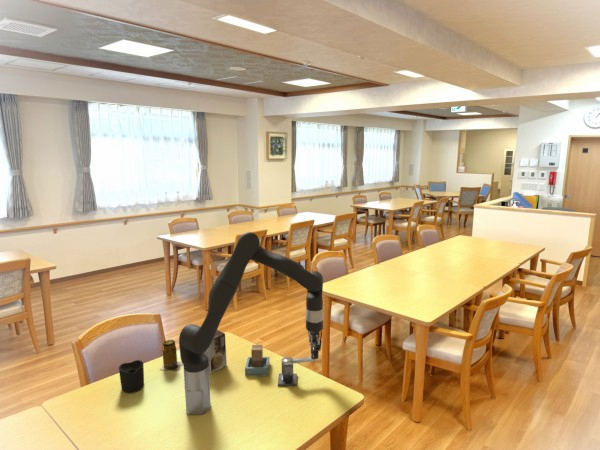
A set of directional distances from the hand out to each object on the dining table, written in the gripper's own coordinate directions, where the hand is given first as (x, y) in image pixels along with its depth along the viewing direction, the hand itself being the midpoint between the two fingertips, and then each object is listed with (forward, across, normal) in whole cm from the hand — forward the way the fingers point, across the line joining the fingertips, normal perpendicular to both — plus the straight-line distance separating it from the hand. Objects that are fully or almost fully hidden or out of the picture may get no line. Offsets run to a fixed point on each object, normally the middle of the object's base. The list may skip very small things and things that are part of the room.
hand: (314, 355), depth 169 cm
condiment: (+10, -26, -61) cm, 67 cm away
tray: (+10, -13, -23) cm, 29 cm away
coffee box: (+10, -20, -42) cm, 48 cm away
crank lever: (+2, -1, -6) cm, 7 cm away
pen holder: (+10, -12, -76) cm, 78 cm away
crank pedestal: (+10, -9, -10) cm, 17 cm away
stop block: (+10, -13, -23) cm, 29 cm away
